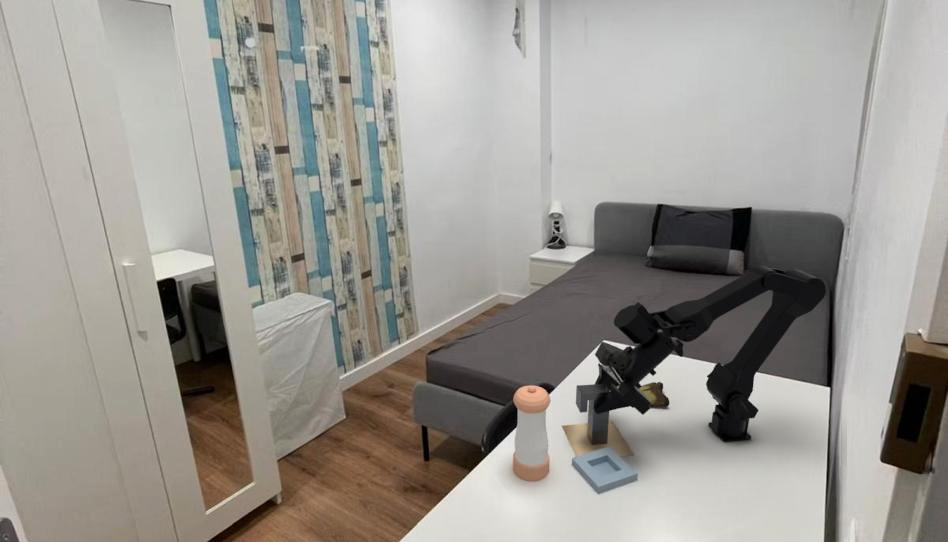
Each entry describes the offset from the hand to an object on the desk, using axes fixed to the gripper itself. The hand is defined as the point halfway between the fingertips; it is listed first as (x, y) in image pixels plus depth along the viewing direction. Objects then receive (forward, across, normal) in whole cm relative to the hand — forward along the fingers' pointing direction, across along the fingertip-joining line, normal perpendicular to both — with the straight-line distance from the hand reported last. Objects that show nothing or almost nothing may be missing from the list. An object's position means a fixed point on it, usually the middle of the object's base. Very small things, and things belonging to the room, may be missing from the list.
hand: (592, 405), depth 108 cm
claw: (-5, -20, +19) cm, 28 cm away
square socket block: (+7, +10, +6) cm, 14 cm away
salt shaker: (+17, +8, -4) cm, 19 cm away
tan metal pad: (+6, 0, +7) cm, 9 cm away
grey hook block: (+6, 0, +6) cm, 8 cm away
